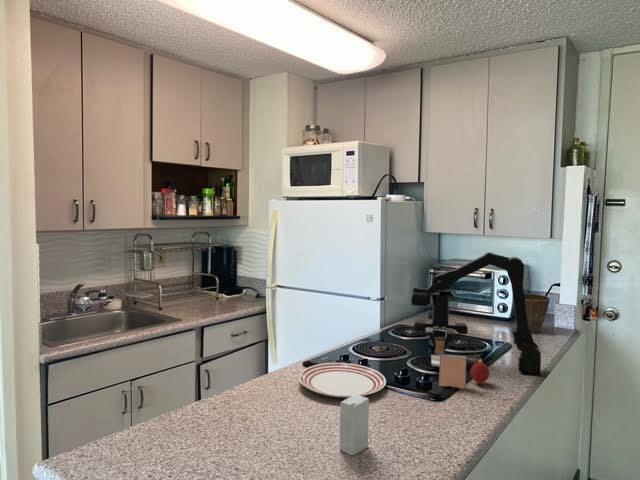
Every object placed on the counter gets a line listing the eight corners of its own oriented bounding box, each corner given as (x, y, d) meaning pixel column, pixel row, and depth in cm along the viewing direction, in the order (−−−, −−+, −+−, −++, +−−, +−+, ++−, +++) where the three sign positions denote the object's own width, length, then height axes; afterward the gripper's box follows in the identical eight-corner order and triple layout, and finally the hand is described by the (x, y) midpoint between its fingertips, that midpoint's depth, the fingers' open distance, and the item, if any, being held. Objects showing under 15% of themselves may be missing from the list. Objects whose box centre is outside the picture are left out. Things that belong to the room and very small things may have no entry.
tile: (438, 385, 153) (439, 354, 153) (464, 387, 152) (466, 356, 151) (439, 387, 151) (440, 356, 151) (465, 389, 150) (466, 358, 149)
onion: (490, 388, 151) (491, 363, 150) (471, 386, 152) (471, 362, 151) (487, 381, 157) (488, 357, 156) (469, 380, 158) (470, 356, 157)
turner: (430, 352, 178) (431, 336, 178) (447, 353, 177) (448, 337, 177) (431, 365, 164) (432, 348, 163) (449, 367, 163) (450, 349, 162)
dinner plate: (396, 379, 158) (396, 369, 158) (369, 412, 134) (369, 400, 133) (320, 366, 170) (321, 357, 170) (282, 394, 145) (282, 384, 145)
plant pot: (550, 330, 221) (552, 296, 220) (545, 337, 208) (547, 301, 207) (515, 325, 229) (517, 292, 228) (509, 332, 216) (510, 297, 215)
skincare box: (353, 441, 117) (354, 393, 116) (369, 447, 114) (370, 398, 113) (338, 451, 112) (338, 400, 111) (353, 458, 109) (354, 406, 108)
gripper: (465, 304, 180) (464, 345, 181) (414, 302, 184) (413, 342, 185) (468, 311, 169) (466, 354, 170) (414, 308, 173) (413, 350, 174)
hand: (439, 350), depth 175 cm, fingers closed on turner, 3 cm apart
